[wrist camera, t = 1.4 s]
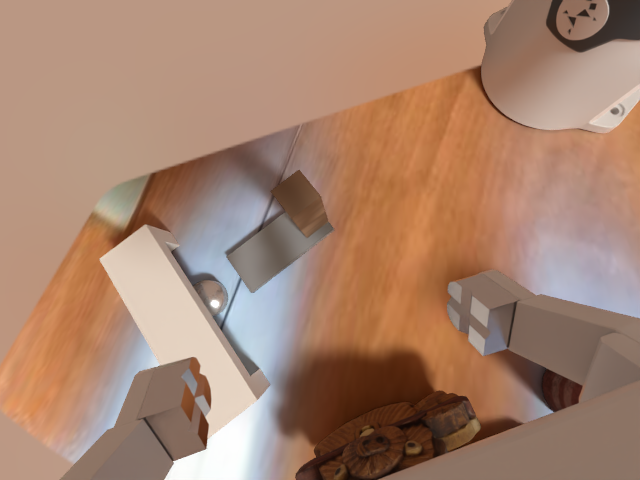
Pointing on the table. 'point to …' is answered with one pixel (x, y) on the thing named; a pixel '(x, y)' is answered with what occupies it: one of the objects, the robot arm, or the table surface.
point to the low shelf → (180, 320)
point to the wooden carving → (393, 439)
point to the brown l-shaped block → (283, 233)
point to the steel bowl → (212, 295)
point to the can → (560, 391)
